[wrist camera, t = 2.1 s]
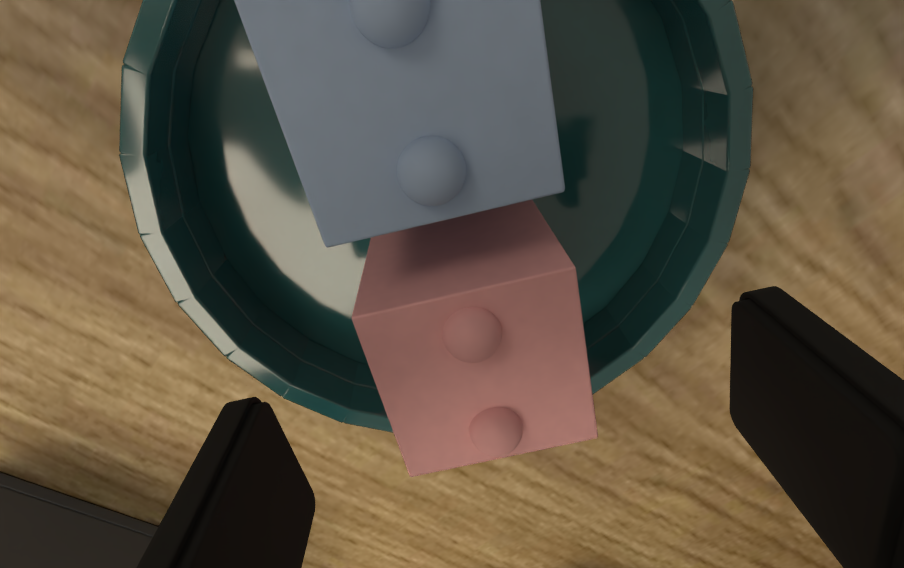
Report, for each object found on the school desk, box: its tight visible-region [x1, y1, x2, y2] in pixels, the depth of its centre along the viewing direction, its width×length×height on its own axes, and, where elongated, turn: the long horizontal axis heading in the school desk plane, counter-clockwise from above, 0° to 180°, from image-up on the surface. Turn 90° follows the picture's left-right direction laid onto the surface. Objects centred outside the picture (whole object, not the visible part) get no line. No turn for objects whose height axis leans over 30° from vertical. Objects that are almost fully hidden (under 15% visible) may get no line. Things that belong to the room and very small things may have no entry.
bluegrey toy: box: [234, 0, 565, 247], centre depth 11 cm, size 4×4×7 cm
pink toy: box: [352, 200, 598, 477], centre depth 13 cm, size 4×4×7 cm
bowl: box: [119, 0, 753, 433], centre depth 14 cm, size 15×15×3 cm
